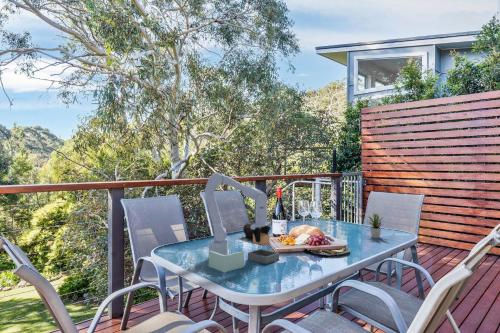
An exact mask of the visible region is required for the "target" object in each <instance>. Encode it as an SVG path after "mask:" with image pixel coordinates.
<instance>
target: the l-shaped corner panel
mask: <svg viewBox="0 0 500 333" xmlns="http://www.w3.org/2000/svg"><path fill="white" fill-rule="evenodd" d="M208 257H209V258H208V267H209V268H213V269H215V270H217V271H219V272H223V273H226V272H230V271H233V270H238V269H241V268H245V251H244V250H242V251H237V252H233V253H230V254H229V253H228V254H227V255H222V254H219V253H216V252H213V251H209V250H208Z"/></svg>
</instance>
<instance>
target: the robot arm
mask: <svg viewBox="0 0 500 333" xmlns="http://www.w3.org/2000/svg"><path fill="white" fill-rule="evenodd" d="M221 184H222V185H223V186H224V185H229V186H231V187H232V188H235V189H237V190H239V191H241V193H242V195H244V196H245V197H247V198H249V199H251V200H255V203H256V204H255V222H254V223H255V224H253V225H251V229H252V232H253V234H254V236H255V240H256V242H260V235H261V231H262V233H264V234H269V232H270V230H271V229H272V228H271V227H272V222H271V221H267V220H268V218H267V216H268V215H267V213H268V212H267V211H268V209H267V208H268V207H267V201H268V196H267V194H266V193H265V192H264V191H262V190H261V189H257V188H255V187H253V185H252V184H246V185H245V184H242V183H240V182H239V181H237V180H235V179H233V178H232V177H230V176H227V175H225V174H221V173H220V172H213V173H212V174H211V176H210V177H209V178H208V179H207V183H206V186H205V189H204V195H205V199H206V202H207V205H208V209H209V210H208V211H209V213H210V216H211V221H212V224H213V229H214V230H213V231H214V233H213V237H214V238H213V241H211V242H210V243H209V245H208V252H209V251H213V252H216V253H219V254H222V255H228V239H227V232H228V231H227V229H226V227H225V226H224V223H223V221H222V217H221V213H220V209H219V206H218V202H217V198H216V194H215V191H216V190H217V188H218V187H219V186H220V185H221ZM259 228H261V229H259ZM207 259H209V256H208V257H207Z"/></svg>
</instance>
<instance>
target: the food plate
mask: <svg viewBox="0 0 500 333" xmlns="http://www.w3.org/2000/svg"><path fill="white" fill-rule="evenodd" d="M310 246H311V245H310ZM307 251H309V250H307ZM309 252H311V253H312V254H313V255H320V256H321V255H322V256H338V255H343V254H347V253H349V252H351V249H350V247H348V246H346V247H345V248H342V249H340V250H331V251H329V250H323V251H322V250H320V249H317V250H315V252H313V251H309ZM322 253H324V254H322ZM325 253H328V254H325Z"/></svg>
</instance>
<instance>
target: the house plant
mask: <svg viewBox="0 0 500 333" xmlns="http://www.w3.org/2000/svg"><path fill="white" fill-rule="evenodd" d="M372 213H373V214H372V215H373V216H372V217H373V218H372V217H371V216H370V215H369V214H366V216H367V218H369V220H366V222H365V223H366V224H367V223H368V222H369V224H370V227H369V230H370V236H371V238H373V239H380V238H381V232H382V227H381V226H384V223H385V221H382V219H383V217H381V218H380V216H379V214H378V212H376V213H374V212H372ZM382 222H383V224H382Z"/></svg>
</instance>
